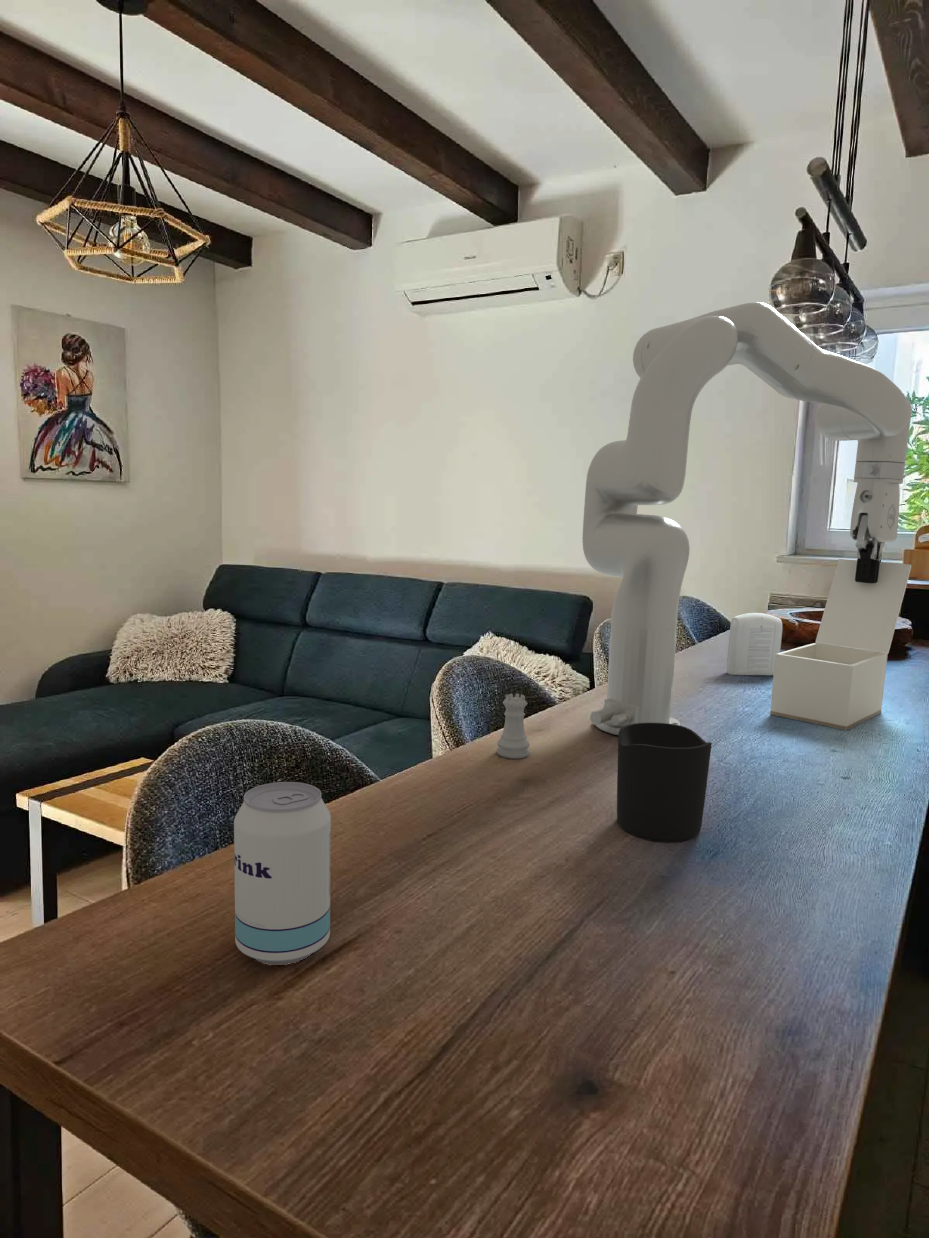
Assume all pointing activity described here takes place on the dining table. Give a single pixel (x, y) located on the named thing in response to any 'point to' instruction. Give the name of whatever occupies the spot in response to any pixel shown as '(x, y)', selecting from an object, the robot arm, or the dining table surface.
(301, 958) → the beverage can
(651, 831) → the pen holder
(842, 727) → the carton
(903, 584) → the carton lid
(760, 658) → the photo printer
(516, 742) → the rook chess piece
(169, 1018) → the dining table surface
